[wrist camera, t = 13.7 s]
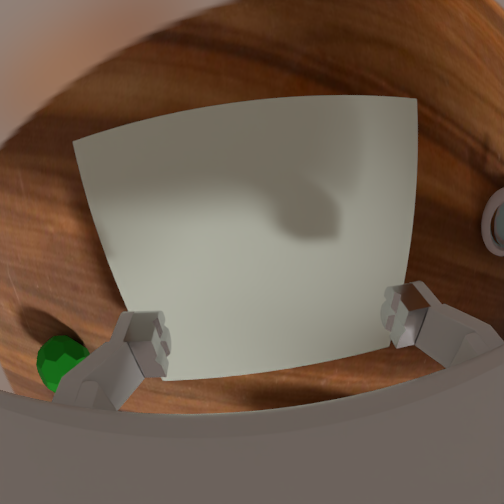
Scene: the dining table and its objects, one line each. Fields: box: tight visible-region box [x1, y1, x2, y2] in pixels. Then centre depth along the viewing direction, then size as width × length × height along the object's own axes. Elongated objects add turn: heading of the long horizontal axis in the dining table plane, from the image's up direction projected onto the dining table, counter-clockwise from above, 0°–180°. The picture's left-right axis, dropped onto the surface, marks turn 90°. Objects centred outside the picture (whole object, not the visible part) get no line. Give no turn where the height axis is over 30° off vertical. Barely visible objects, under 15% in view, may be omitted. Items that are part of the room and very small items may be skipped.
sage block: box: [73, 95, 418, 381], centre depth 15 cm, size 14×14×5 cm
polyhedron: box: [36, 335, 90, 392], centre depth 19 cm, size 5×5×5 cm
